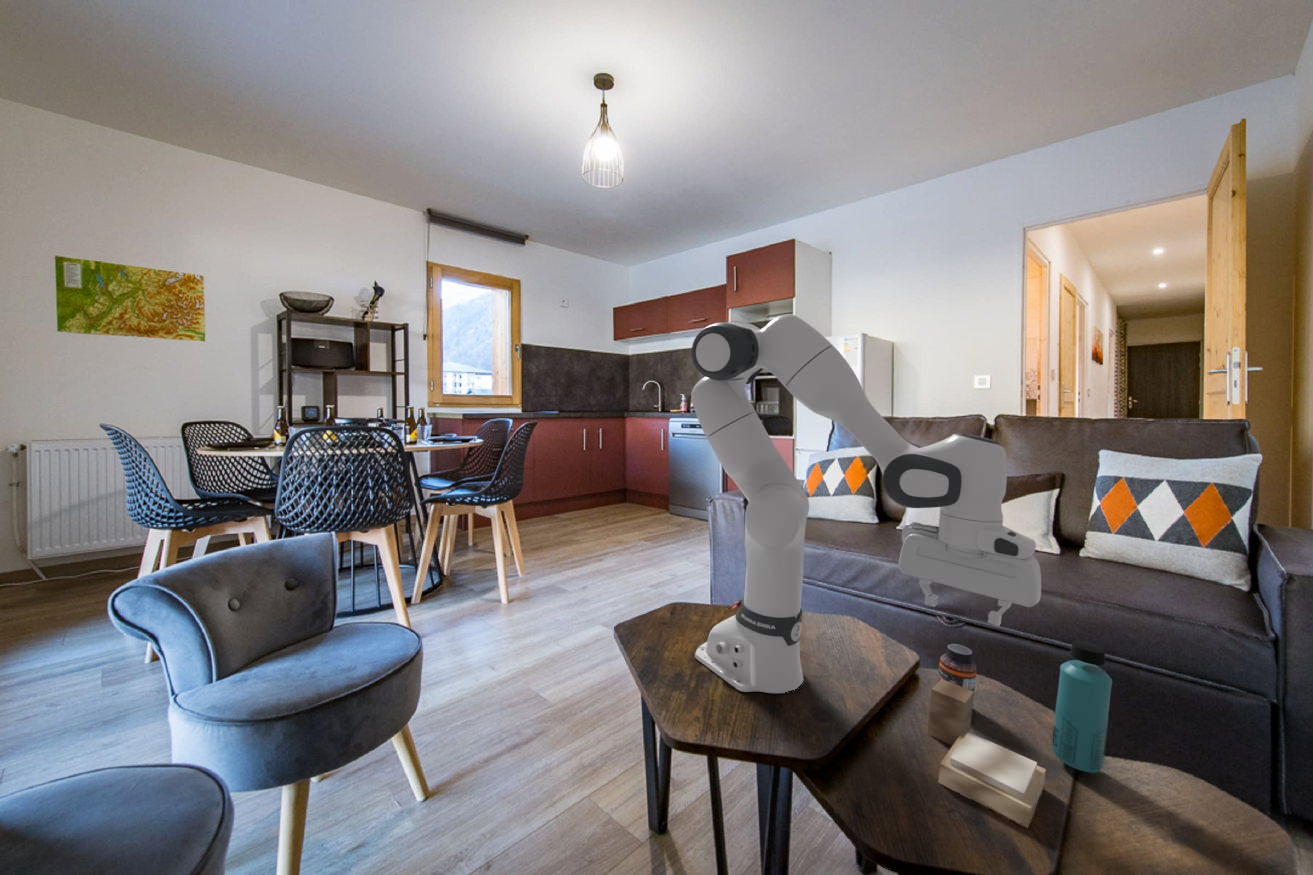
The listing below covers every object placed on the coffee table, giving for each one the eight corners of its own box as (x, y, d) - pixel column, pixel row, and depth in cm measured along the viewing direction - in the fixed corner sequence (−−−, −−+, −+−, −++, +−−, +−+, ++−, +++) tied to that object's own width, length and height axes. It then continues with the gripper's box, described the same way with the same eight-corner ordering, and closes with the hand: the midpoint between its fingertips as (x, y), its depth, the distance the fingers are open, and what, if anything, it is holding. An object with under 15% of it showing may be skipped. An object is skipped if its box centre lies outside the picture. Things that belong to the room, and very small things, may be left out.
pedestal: (938, 782, 76) (940, 756, 75) (960, 749, 83) (962, 725, 83) (1028, 829, 68) (1031, 801, 68) (1043, 788, 76) (1046, 762, 75)
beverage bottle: (1112, 786, 77) (1129, 658, 75) (1062, 778, 78) (1077, 652, 76) (1085, 757, 83) (1100, 638, 81) (1039, 749, 84) (1053, 632, 83)
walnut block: (927, 733, 87) (931, 689, 86) (937, 721, 90) (941, 678, 90) (960, 749, 83) (965, 702, 83) (969, 736, 87) (973, 691, 86)
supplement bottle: (928, 700, 97) (933, 643, 96) (949, 694, 99) (954, 638, 98) (958, 719, 91) (964, 658, 90) (979, 712, 94) (985, 653, 93)
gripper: (896, 522, 89) (889, 599, 90) (1040, 551, 75) (1030, 642, 76) (909, 517, 94) (903, 590, 95) (1048, 544, 79) (1039, 630, 80)
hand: (961, 614), depth 85 cm, fingers open, 8 cm apart
